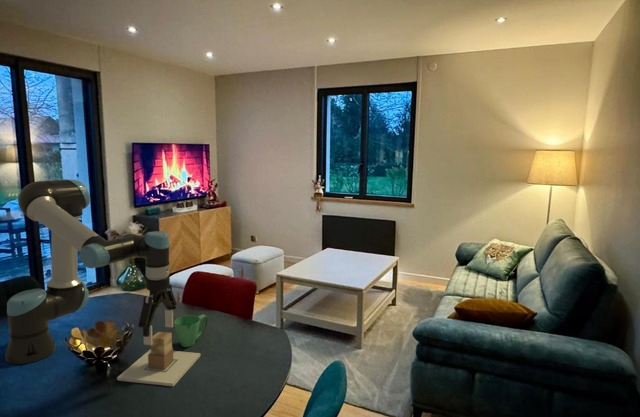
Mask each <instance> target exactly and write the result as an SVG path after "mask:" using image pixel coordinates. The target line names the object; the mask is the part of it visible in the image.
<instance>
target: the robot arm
mask: <svg viewBox="0 0 640 417" xmlns="http://www.w3.org/2000/svg"><path fill="white" fill-rule="evenodd" d="M90 196H91V195H90V192H89V190H88V188H87V187H86V185H85V184H84V183H83V182H82V181H80V180H78V179H57V180H40V181H39V180H37V181H33V182H31V183H28V184H27V185H26V186H24V187H23V188H22V189H21V191H20V192H19V194H18V198H17V204H18V206H19V209H20V210H21V212H22V214H23V215H24V216H26V217H27V218H28V219H30V220H31V221H33V222H39V223H40V224H42V225H43V226H45V227H46V228H47V229H48V230H50V231H51V235H50V236H51V278H50V279H49V280H48V281H47V282H46V290H45V289H43V288H32V289H27V290H23V291H20V292H18V293H16V294H14V295H13V296H11V297H10V298H8V301H7V302H6V314H7V323H8V334H9V341H8V345H7V348H6V351H5V354H4V356H5V357H4V358H5V362H6V363H8V364H11V365H25V364H26V365H27V364H29V363H35V362H37V361H41V360H44V359H45V358H47V357H49V356H52V354H53V353H55V351H56V346H57V345H56V342H55V340H54V339H53V336H52V334H51V332H50V330H49V322H51V321H53V320H55V319H56V320H57V319H59V318H62V317H65V316H66V315H67V316H68V315H70V314H74V313H76V312H77V311H80V310H82V309H83V308H84V307H85V306H86V305H87V303H88V302H89V301H88V300H89V294H90V293H89V289H88V287H87V285H86V283H84V282H83V280H82V279H81V277H79V276H78V259H79V258H80V259H79V260H80V261H81V262H82V264H83V266H84V267H85V268H87V269H96V268H102V267H105V266H107V265H108V266H109V265H111V264H114V263H115V264H116V263H117V262H122V261H125V260H129V259H132V258H140V259H144V260H145V278H146V279H145V284H146V285H145V288H146V290H148V291H149V295H148V296H145V295H144V296H143V304H142V307H141V308H142V309H141V312H140V317H139V320H138V325H137V326H138V328H142V333H143V334H142V335H143V345H145V346H151V345H152V337H153V326H152V322H153V319H154V317H155V313H156V312H157V308H159V307H160V306H159V305H160V304H161V303H162V305H163V306H164V307H165V310H164V323H165V324H164V327H165V328H173V327H174V310H176V308H177V300H176V298H175V295H174V292H173V285H172V284H171V283H170V281H171V280H170V278H171V277H170V271H171V268H170V239H169V238H170V237H169V236H170V235H169V234H168V233H167V232H165V231H160V230H159V231H158V230H157V231H156V230H155V231H148V232H146V234H145V235H141V234H135V233H124V234H122V235H120V236H119V237H118V238H114V239H110V240H107V239H105V238H104V237H102V236H100V235H99V234H98V233H96V232H95V231H94V230H92V228H90V227H88V226H87V225H86V224H84V223H83V222H82V221H80V220H79V219H80V218H81V217H83V212H84V211H83V210H84V209H86V208H87V207H89V205H90V202H91V197H90ZM78 253H79V258H78Z"/></svg>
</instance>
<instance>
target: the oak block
mask: <svg viewBox="0 0 640 417" xmlns="http://www.w3.org/2000/svg"><path fill="white" fill-rule="evenodd" d="M172 340H173V338H172V332H167V331H166V332H164V331H157V332H156V333H155V334H154V335H152V345H150V349H151V354H152V355H162V356H165V355H166V354H167V353H168V352H169V351H170V350H171V349H172V348H173V341H172Z"/></svg>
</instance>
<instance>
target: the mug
mask: <svg viewBox="0 0 640 417" xmlns="http://www.w3.org/2000/svg"><path fill="white" fill-rule="evenodd" d="M201 321H202V323H201ZM207 326H208V316H206V315H205V314H200V315H194V314H193V315H190V314H188V315H182V316H179V317H177V318H175V320H173V327H174V329H175V333H176V336H177V338H178V341H179V343H180V346H181V347H184V348H190V347H193V346H194V345H195V342H196V340H197V339H198V338H200V336H201V335H202V334H203V333H204V331H205V329H206V328H207Z"/></svg>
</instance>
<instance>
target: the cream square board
mask: <svg viewBox="0 0 640 417" xmlns="http://www.w3.org/2000/svg"><path fill="white" fill-rule="evenodd" d="M200 357H201V353H200V352H190V351H189V352H188V351H181V350H178V351H177V350H174V348H173V347H172V349H171V350H170V351H169V352H168V353H167V354H166V355H165V356H162V355H152V354H151V348H150V349H149V350H148V351H146V352H145V353H144V354H142V356H141V357H140V358H138V359H137V360H135V361H134V363H133V364H132V365H130V366H129V367H128V368H126V369H125V370H124V371H123V372H122V373H121V374H119V375H118V376H117V377H116V380H117V381H120V382H129V383H140V384H147V385H158V386H165V387H174V386H175V385H176V384H177V383H178V382H179V381H180V380H181V379H182V377H183V376H184V375H185V374H186V373H187V372H188V371H189V369H190V368H192V366H193V365H194V364H195V362H197V361H198V360H199V358H200Z"/></svg>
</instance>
